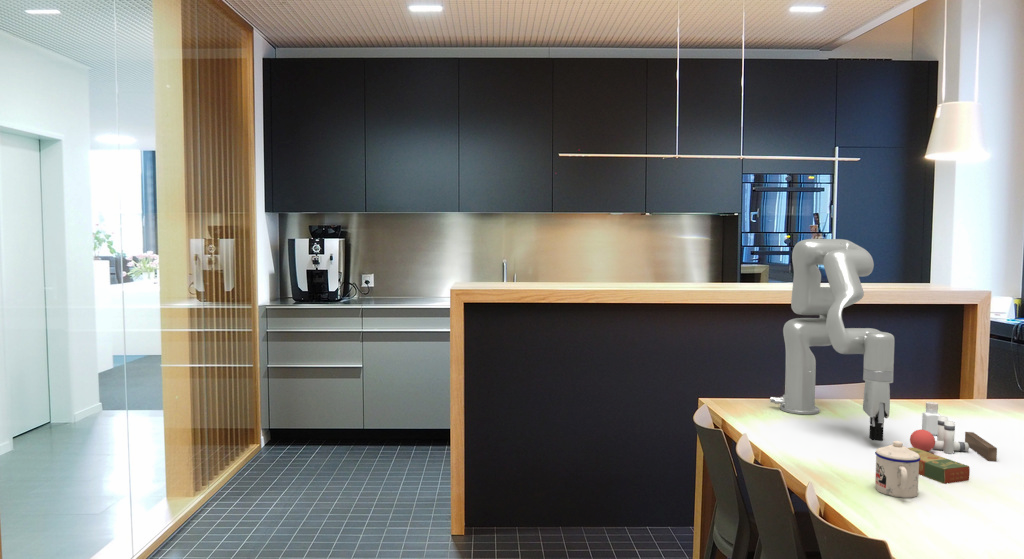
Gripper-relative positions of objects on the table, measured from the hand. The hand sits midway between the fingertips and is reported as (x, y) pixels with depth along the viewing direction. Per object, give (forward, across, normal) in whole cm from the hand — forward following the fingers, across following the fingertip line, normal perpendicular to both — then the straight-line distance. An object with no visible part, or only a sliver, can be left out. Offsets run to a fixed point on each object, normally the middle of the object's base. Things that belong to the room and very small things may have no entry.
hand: (876, 439), depth 197 cm
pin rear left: (+2, -2, +18) cm, 18 cm away
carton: (+2, +22, +7) cm, 23 cm away
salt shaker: (+2, -17, +19) cm, 26 cm away
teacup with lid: (+2, +41, -5) cm, 41 cm away
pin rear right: (+2, +3, +18) cm, 18 cm away
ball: (-2, +3, +11) cm, 11 cm away
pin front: (0, 0, +14) cm, 14 cm away
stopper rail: (+2, 0, +26) cm, 26 cm away
